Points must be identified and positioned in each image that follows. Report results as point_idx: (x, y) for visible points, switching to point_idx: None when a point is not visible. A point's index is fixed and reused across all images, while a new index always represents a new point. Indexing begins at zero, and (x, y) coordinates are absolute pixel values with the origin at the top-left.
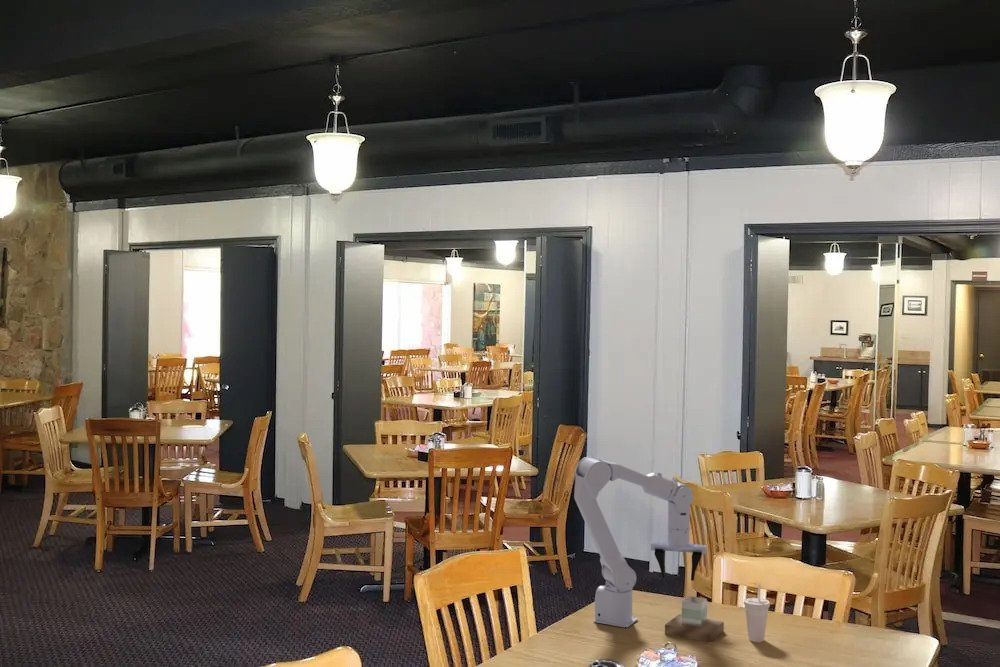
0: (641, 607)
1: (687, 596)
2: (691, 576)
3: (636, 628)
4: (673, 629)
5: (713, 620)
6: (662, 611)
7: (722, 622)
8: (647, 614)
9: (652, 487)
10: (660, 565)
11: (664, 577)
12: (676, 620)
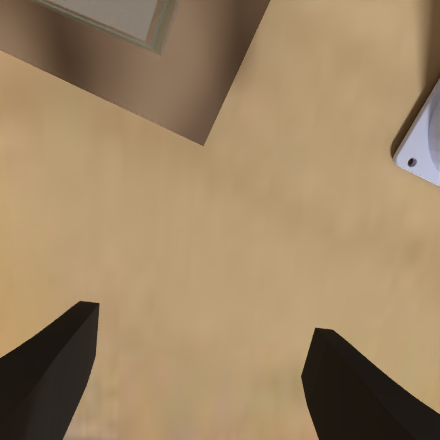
0: (341, 334)
1: (146, 27)
2: (86, 315)
3: (420, 32)
4: None
5: (9, 48)
6: (261, 298)
7: None
8: (331, 251)
9: None
10: (408, 397)
11: (318, 330)
12: (227, 24)
